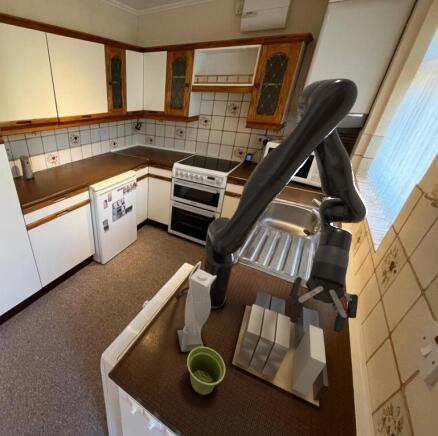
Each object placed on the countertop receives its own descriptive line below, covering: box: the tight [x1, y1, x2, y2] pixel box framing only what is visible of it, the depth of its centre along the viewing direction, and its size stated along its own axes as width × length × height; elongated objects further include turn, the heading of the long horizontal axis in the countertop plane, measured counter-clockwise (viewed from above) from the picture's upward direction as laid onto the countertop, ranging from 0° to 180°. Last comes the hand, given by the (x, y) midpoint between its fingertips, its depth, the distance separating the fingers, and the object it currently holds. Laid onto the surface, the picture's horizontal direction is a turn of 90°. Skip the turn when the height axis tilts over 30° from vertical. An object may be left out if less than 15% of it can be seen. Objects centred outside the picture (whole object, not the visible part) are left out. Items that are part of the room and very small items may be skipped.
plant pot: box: [186, 346, 226, 396], centre depth 62 cm, size 9×9×9 cm
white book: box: [292, 325, 327, 395], centre depth 62 cm, size 3×10×14 cm, turn 151°
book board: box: [231, 290, 329, 407], centre depth 69 cm, size 21×24×15 cm
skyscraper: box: [176, 260, 217, 353], centre depth 69 cm, size 8×8×28 cm
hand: (316, 324), depth 62 cm, fingers open, 8 cm apart
